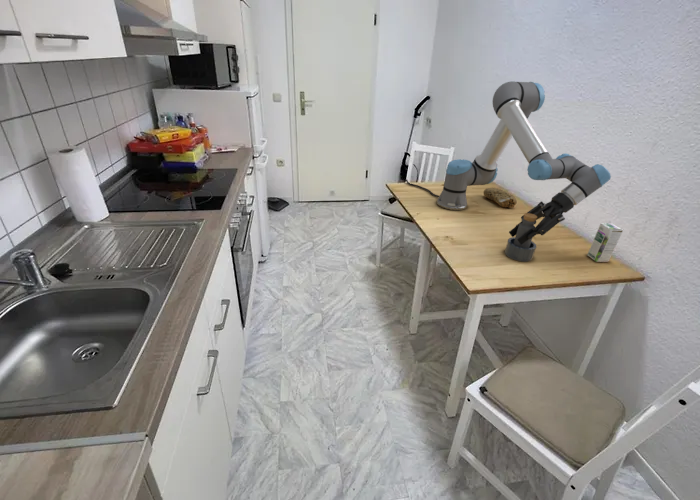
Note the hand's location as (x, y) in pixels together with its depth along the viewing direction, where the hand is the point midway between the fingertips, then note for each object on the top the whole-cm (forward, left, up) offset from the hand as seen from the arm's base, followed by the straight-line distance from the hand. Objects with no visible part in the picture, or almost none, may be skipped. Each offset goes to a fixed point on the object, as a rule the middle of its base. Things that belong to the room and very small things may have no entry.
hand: (514, 238), depth 141 cm
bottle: (+2, +3, -6) cm, 7 cm away
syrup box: (+26, +25, -8) cm, 37 cm away
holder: (+2, +3, -8) cm, 8 cm away
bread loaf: (-29, +58, -8) cm, 65 cm away
